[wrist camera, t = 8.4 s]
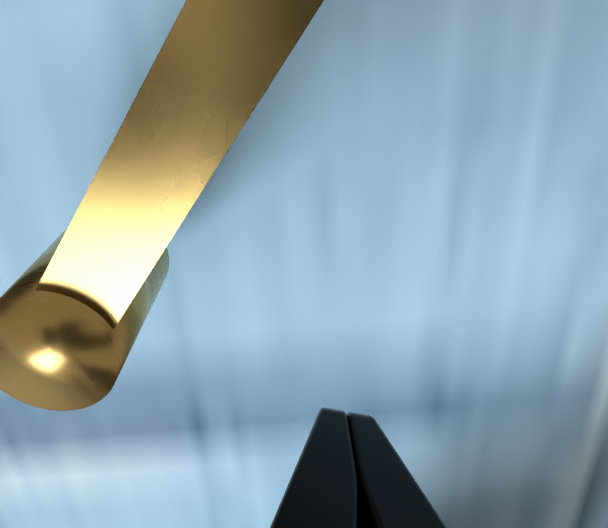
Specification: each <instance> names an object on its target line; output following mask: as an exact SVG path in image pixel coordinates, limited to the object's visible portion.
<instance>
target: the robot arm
mask: <svg viewBox="0 0 608 528" xmlns="http://www.w3.org/2000/svg"><path fill="white" fill-rule="evenodd" d="M270 528H446V526H445V525H444V523H443V522H442V520H441V519H440V517H439V516H438V514H437V513H436V511H435V510H434V508H433V507H432V505H431V504H430V502H429V501H428V499H427V498H426V496H425V495H424V493H423V492H422V490H421V489H420V487H419V486H418V484H417V483H416V481H415V479H414V478H413V476H412V475H411V473H410V472H409V470H408V469H407V467H406V466H405V464H404V463H403V461H402V460H401V458H400V457H399V455H398V454H397V452H396V451H395V449H394V448H393V446H392V445H391V443H390V442H389V440H388V439H387V437H386V436H385V434H384V432H383V431H382V429H381V428H380V426H379V425H378V423H377V422H376V420H375V419H374V418H373V417H371V416H369V415H364V414H358V413H352V412H350V413H348V414H346V413H345V412H344V411H341V410H335V409H329V408H322V409H320V411H319V413H318V416H317V418H316V420H315V423H314V425H313V428H312V430H311V432H310V435H309V437H308V439H307V442H306V444H305V446H304V449H303V451H302V454H301V456H300V458H299V461H298V463H297V465H296V468H295V470H294V472H293V475H292V477H291V480H290V482H289V484H288V487H287V489H286V491H285V494H284V496H283V498H282V501H281V503H280V506H279V508H278V510H277V513H276V515H275V517H274V520H273V522H272V524H271V527H270Z"/></svg>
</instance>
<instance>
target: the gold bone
mask: <svg viewBox="0 0 608 528" xmlns="http://www.w3.org/2000/svg"><path fill="white" fill-rule="evenodd" d="M323 1H324V0H186V2H185V4H184V6H183V8H182V10H181V12H180V14H179V16H178V17H177V19H176V21H175V23H174V25H173V27H172V29H171V31H170V33H169V35H168V37H167V39H166V41H165V42H164V44H163V46H162V48H161V50H160V52H159V54H158V56H157V58H156V60H155V62H154V64H153V65H152V67H151V69H150V71H149V73H148V75H147V77H146V79H145V81H144V83H143V85H142V87H141V88H140V90H139V92H138V94H137V96H136V98H135V100H134V102H133V104H132V106H131V108H130V110H129V112H128V113H127V115H126V117H125V119H124V121H123V123H122V125H121V127H120V129H119V131H118V133H117V135H116V136H115V138H114V140H113V142H112V144H111V146H110V148H109V150H108V152H107V154H106V156H105V158H104V159H103V161H102V163H101V165H100V167H99V169H98V171H97V173H96V175H95V177H94V179H93V181H92V183H91V184H90V186H89V188H88V190H87V192H86V194H85V196H84V198H83V200H82V202H81V204H80V206H79V207H78V209H77V211H76V213H75V215H74V217H73V219H72V221H71V223H70V225H69V227H68V228H67V229H66V230H65V231H64V232H63V233H62V234H61V235H60V236H59V237H58V238H57V239H56V240H55V241H54V242H53V244H52V245H51V246H50V247H49V248H48V249H47V250H46V251H45V252H44V253H43V254H42V255H41V256H40V257H39V258H38V259H37V260H36V261H35V262H34V263H33V264H32V265H31V266H30V267H29V268H28V270H27V271H26V272H25V273H24V274H23V275H22V276H21V277H20V278H19V279H18V280H17V281H16V282H15V283H14V284H13V285H12V286H11V287H10V288H9V289H8V290H7V291H6V292H5V293H4V294H3V295H2V297H1V298H0V389H1V390H3V391H4V392H5V393H7V394H8V395H10V396H12V397H13V398H15V399H17V400H19V401H21V402H24V403H26V404H29V405H32V406H35V407H38V408H43V409H48V410H57V411H68V410H76V409H82V408H85V407H88V406H91V405H93V404H95V403H97V402H98V401H100V400H102V399H103V398H104V397H105V396H106V395H107V394H108V393H109V392H110V390H111V389H112V387H113V385H114V383H115V381H116V379H117V377H118V375H119V373H120V371H121V369H122V367H123V365H124V363H125V361H126V358H127V356H128V354H129V352H130V350H131V348H132V346H133V344H134V342H135V340H136V338H137V336H138V334H139V332H140V329H141V327H142V325H143V323H144V321H145V319H146V317H147V315H148V313H149V311H150V309H151V307H152V305H153V303H154V301H155V298H156V296H157V294H158V292H159V290H160V288H161V286H162V284H163V282H164V280H165V278H166V275H167V272H168V268H169V256H168V251H167V248H166V247H167V245H168V243H169V242H170V240H171V239H172V237H173V236H174V234H175V232H176V231H177V229H178V228H179V226H180V225H181V223H182V221H183V220H184V218H185V217H186V215H187V214H188V212H189V211H190V209H191V207H192V206H193V204H194V203H195V201H196V200H197V198H198V196H199V195H200V193H201V192H202V190H203V189H204V187H205V185H206V184H207V182H208V181H209V179H210V178H211V176H212V174H213V173H214V171H215V170H216V168H217V167H218V165H219V164H220V162H221V160H222V159H223V157H224V156H225V154H226V153H227V151H228V149H229V148H230V146H231V145H232V143H233V142H234V140H235V138H236V137H237V135H238V134H239V132H240V131H241V129H242V127H243V126H244V124H245V123H246V121H247V120H248V118H249V117H250V115H251V113H252V112H253V110H254V109H255V107H256V106H257V104H258V102H259V101H260V99H261V98H262V96H263V95H264V93H265V91H266V90H267V88H268V87H269V85H270V84H271V82H272V80H273V79H274V77H275V76H276V74H277V73H278V71H279V70H280V68H281V66H282V65H283V63H284V62H285V60H286V59H287V57H288V55H289V54H290V52H291V51H292V49H293V48H294V46H295V44H296V43H297V41H298V40H299V38H300V37H301V35H302V33H303V32H304V30H305V29H306V27H307V26H308V24H309V23H310V21H311V19H312V18H313V16H314V15H315V13H316V12H317V10H318V8H319V7H320V5H321V4H322V2H323Z"/></svg>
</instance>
